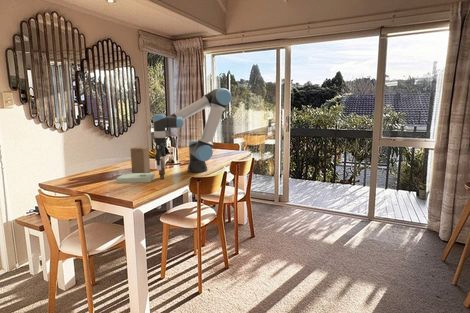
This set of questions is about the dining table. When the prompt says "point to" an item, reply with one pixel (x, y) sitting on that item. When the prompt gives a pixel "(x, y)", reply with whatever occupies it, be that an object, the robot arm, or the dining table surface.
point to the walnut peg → (162, 169)
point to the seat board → (135, 177)
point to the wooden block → (140, 159)
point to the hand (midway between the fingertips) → (161, 167)
